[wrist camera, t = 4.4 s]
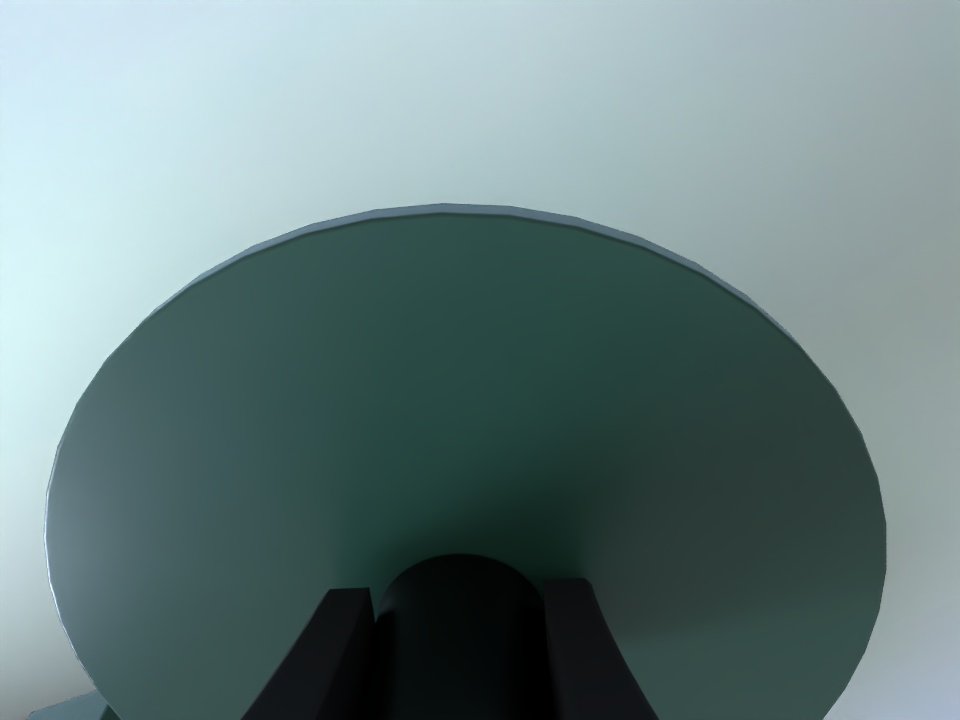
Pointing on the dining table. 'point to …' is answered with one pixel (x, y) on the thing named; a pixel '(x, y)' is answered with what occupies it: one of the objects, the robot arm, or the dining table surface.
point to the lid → (464, 477)
